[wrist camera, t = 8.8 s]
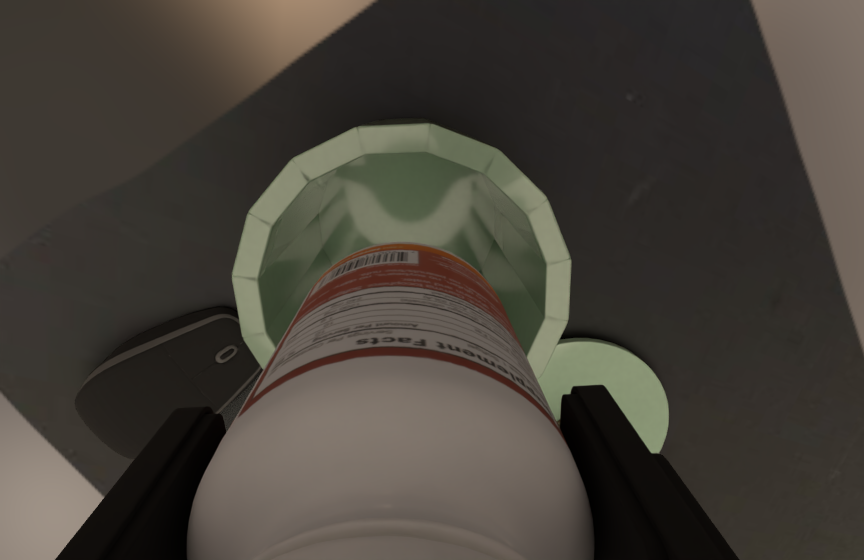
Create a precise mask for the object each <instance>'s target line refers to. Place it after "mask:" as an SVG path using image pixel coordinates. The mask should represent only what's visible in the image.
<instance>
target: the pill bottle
mask: <svg viewBox="0 0 864 560" xmlns="http://www.w3.org/2000/svg"><path fill="white" fill-rule="evenodd" d="M594 549H595V537H594V524H593V517H592V512H591V507H590V503H589V499H588V495H587V492H586V489H585V486H584V483H583V481H582V478H581V476H580V473H579V471H578V468H577V466H576V463H575V461H574V458H573V456H572V454H571V451H570V449H569V447H568V445H567V442H566V440H565V438H564V436H563V434H562V432H561V430H560V428H559V425H558V423H557V421H556V419H555V417H554V415H553V413H552V411H551V409H550V407H549V405H548V402H547V400H546V398H545V396H544V394H543V392H542V390H541V387H540V385H539V383H538V381H537V379H536V377H535V374H534V372H533V370H532V368H531V366H530V364H529V361H528V359H527V357H526V355H525V353H524V351H523V349H522V346H521V344H520V342H519V340H518V338H517V336H516V333H515V331H514V329H513V327H512V325H511V323H510V320H509V318H508V316H507V314H506V311H505V309H504V307H503V305H502V303H501V301H500V299H499V297H498V296H497V294H496V293H495V291H494V290H493V288H492V287H491V285H490V284H489V283H488V281H487V280H486V279H485V278H484V277H483V276H482V275H481V273H479V272H478V271H477V270H476V269H475V268H474V267H473V266H471V265H470V264H469V263H468V262H466V261H465V260H463V259H462V258H460V257H458V256H456V255H455V254H453V253H451V252H449V251H446V250H444V249H441V248H438V247H434V246H431V245H427V244H422V243H414V242H388V243H382V244H377V245H373V246H369V247H366V248H363V249H361V250H358V251H356V252H354V253H352V254H350V255H348V256H346V257H344V258H343V259H341V260H339V261H338V262H337V263H335V264H334V265H333V266H331V267H330V268H329V269H328V270H327V271H326V272H325V273H324V274H323V275H322V276H321V277H320V278H319V280H318V281H317V282H316V283H315V284H314V286H313V287H312V289H311V290H310V291H309V293H308V295H307V296H306V298H305V300H304V301H303V303H302V305H301V306H300V308H299V310H298V312H297V313H296V315H295V317H294V319H293V320H292V322H291V323H290V325H289V327H288V329H287V331H286V332H285V334H284V335H283V337H282V339H281V340H280V342H279V343H278V345H277V348H276V349H275V351H274V353H273V354H272V356H271V357H270V359H269V361H268V363H267V364H266V366H265V368H264V370H263V371H262V373H261V375H260V376H259V378H258V380H257V381H256V383H255V385H254V387H253V389H252V391H251V392H250V394H249V395H248V397H247V399H246V401H245V403H244V404H243V406H242V408H241V410H240V411H239V413H238V415H237V416H236V418H235V419H234V420H233V422H232V424H231V426H230V428H229V430H228V431H227V433H226V434H225V436H224V437H223V438H222V440H221V442H220V444H219V446H218V448H217V450H216V452H215V454H214V456H213V458H212V460H211V461H210V463H209V465H208V467H207V469H206V471H205V473H204V475H203V477H202V479H201V482H200V484H199V486H198V489H197V492H196V495H195V498H194V500H193V504H192V509H191V513H190V518H189V524H188V531H187V560H594Z"/></svg>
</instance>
